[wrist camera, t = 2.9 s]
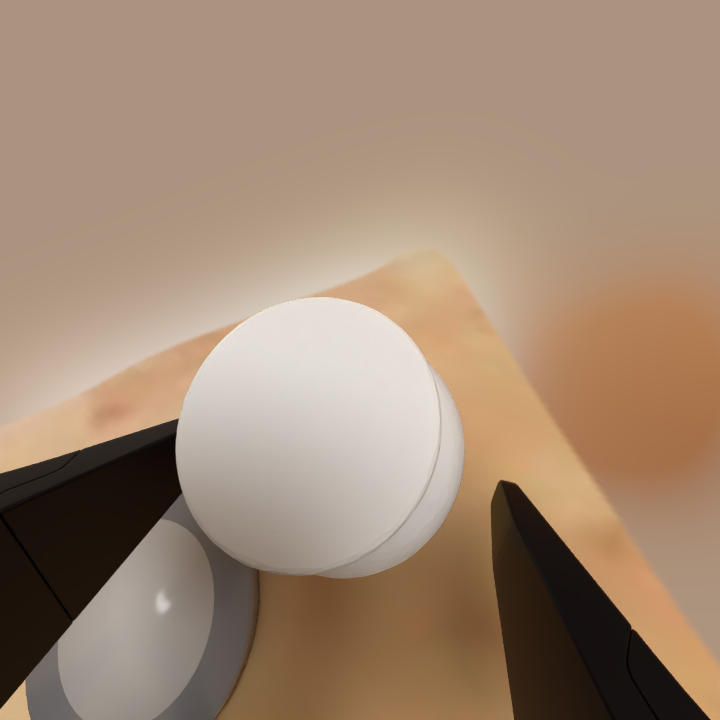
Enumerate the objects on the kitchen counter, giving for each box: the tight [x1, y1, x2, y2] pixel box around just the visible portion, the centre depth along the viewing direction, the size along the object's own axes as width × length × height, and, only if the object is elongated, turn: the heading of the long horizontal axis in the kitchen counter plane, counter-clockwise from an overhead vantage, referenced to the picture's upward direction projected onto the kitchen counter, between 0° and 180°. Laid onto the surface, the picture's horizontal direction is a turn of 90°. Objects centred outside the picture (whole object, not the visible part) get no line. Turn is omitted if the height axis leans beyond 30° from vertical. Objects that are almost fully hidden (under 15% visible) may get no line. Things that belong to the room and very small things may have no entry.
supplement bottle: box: [176, 297, 465, 578], centre depth 11 cm, size 7×7×13 cm
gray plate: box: [26, 493, 259, 720], centre depth 15 cm, size 12×12×1 cm
